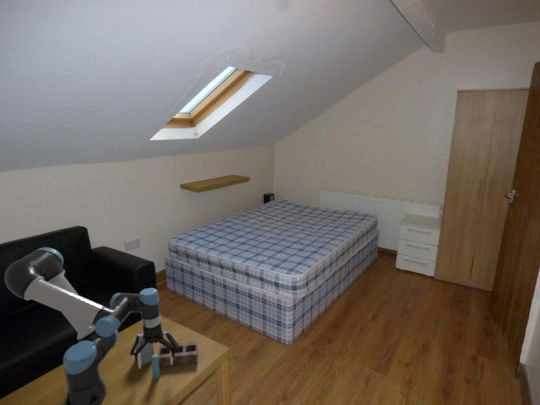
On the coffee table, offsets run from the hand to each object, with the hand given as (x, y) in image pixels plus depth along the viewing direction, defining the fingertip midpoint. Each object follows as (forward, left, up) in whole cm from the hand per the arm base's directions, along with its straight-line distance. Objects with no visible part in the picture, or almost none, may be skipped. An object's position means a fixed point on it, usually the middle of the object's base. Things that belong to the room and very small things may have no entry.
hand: (156, 364), depth 150 cm
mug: (-7, +15, -7) cm, 18 cm away
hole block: (+9, +11, -7) cm, 15 cm away
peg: (0, 0, -7) cm, 7 cm away
